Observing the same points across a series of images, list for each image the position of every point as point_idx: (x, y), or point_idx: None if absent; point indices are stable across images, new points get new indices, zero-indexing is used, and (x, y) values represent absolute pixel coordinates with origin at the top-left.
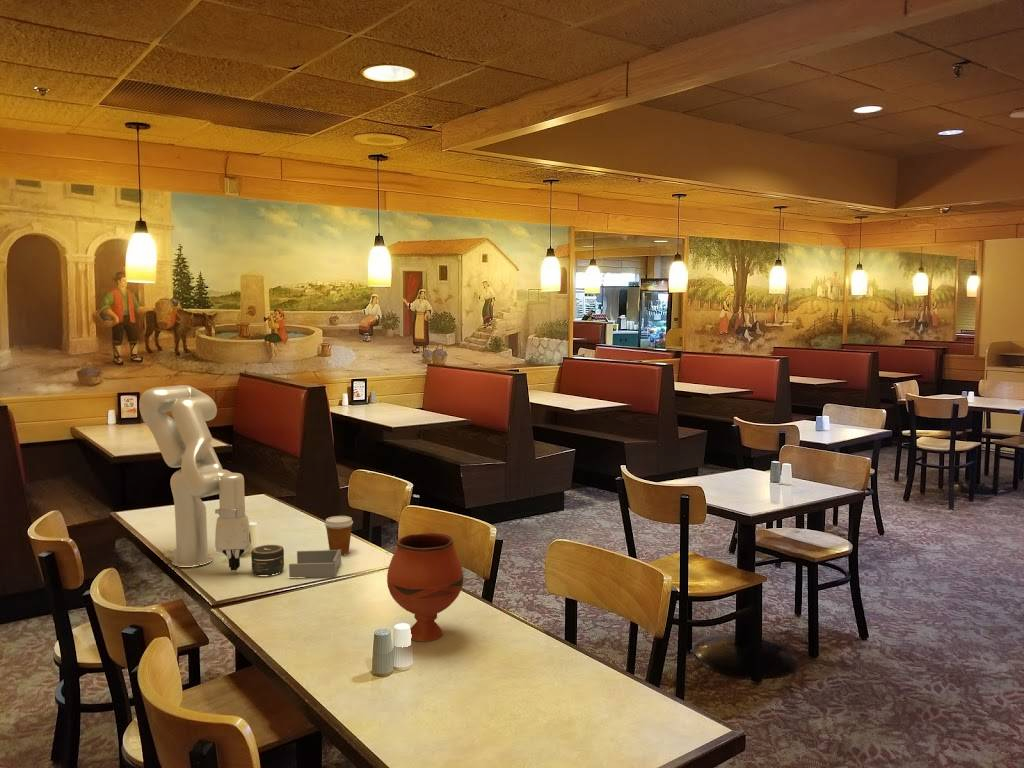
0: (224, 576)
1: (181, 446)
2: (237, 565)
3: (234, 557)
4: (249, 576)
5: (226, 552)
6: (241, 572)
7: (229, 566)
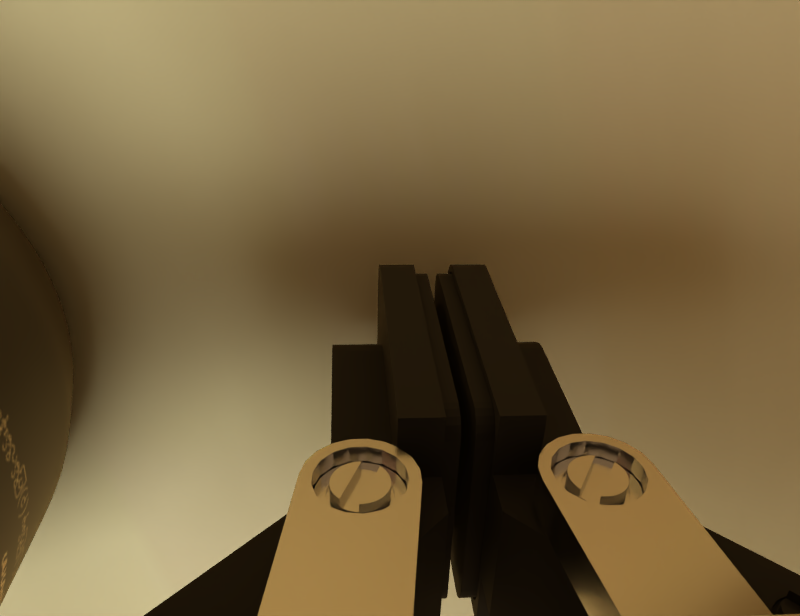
0: (572, 144)
1: None
2: (355, 354)
3: (438, 485)
4: (57, 96)
5: (738, 580)
6: (305, 335)
7: (529, 346)
